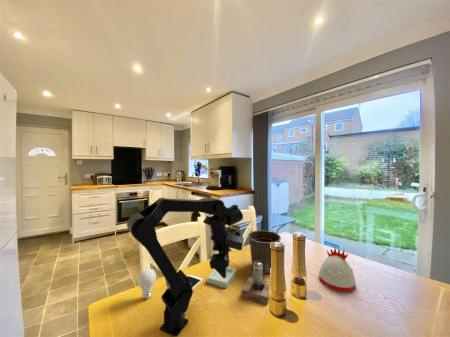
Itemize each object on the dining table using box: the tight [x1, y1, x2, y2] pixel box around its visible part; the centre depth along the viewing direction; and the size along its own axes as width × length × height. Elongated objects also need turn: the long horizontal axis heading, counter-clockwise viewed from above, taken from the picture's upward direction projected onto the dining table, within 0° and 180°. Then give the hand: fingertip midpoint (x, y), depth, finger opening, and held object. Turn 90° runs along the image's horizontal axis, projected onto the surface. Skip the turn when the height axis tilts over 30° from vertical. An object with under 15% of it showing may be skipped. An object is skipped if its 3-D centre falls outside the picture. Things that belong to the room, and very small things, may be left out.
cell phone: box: [186, 274, 204, 290], centre depth 82 cm, size 8×16×1 cm, turn 152°
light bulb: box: [137, 268, 157, 299], centre depth 74 cm, size 7×7×11 cm
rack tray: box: [206, 266, 238, 289], centre depth 88 cm, size 12×9×2 cm
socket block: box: [241, 276, 270, 305], centre depth 78 cm, size 10×10×2 cm
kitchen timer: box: [318, 247, 356, 293], centre depth 86 cm, size 14×14×15 cm
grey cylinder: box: [252, 261, 263, 291], centre depth 78 cm, size 4×4×12 cm
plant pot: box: [247, 230, 282, 275], centre depth 97 cm, size 16×16×16 cm
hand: (225, 269), depth 73 cm, fingers open, 9 cm apart
